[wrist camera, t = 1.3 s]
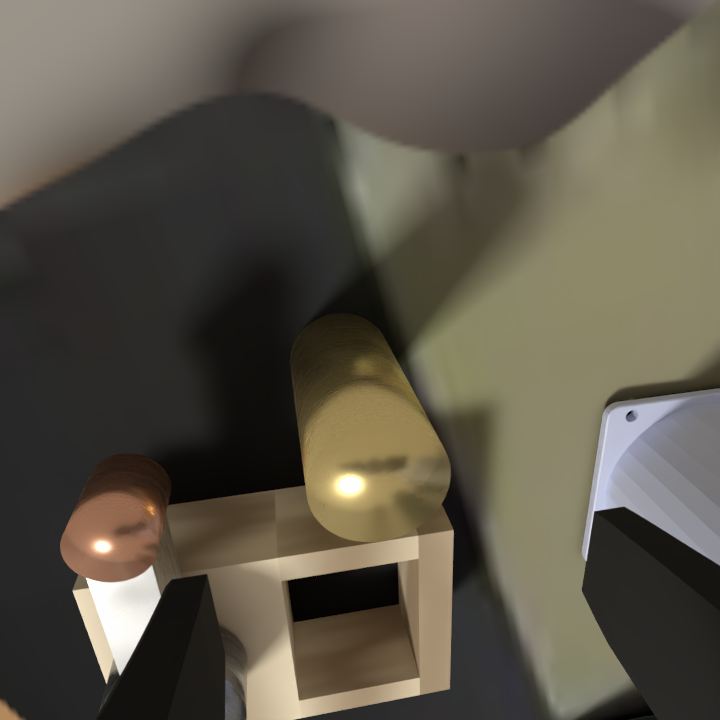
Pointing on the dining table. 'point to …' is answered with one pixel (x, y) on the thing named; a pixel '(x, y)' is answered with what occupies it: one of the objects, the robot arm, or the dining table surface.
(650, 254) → the dining table surface
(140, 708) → the robot arm
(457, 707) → the dining table surface
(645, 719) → the coffee jar
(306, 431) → the brass pin
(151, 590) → the copper tipped joystick
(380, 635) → the birch block
